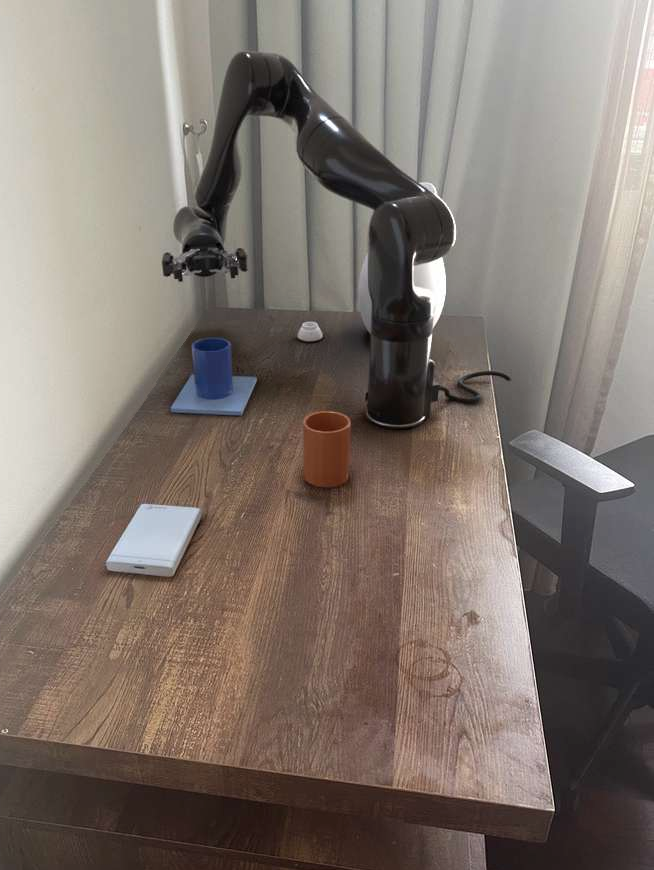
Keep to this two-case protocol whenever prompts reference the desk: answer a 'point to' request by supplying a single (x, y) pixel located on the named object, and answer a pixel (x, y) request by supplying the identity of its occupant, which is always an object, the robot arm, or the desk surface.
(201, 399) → the blue mat
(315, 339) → the white jar
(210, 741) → the desk surface
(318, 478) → the terracotta cup
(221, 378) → the blue cup
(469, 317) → the desk surface
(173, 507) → the hard drive
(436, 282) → the pitcher
